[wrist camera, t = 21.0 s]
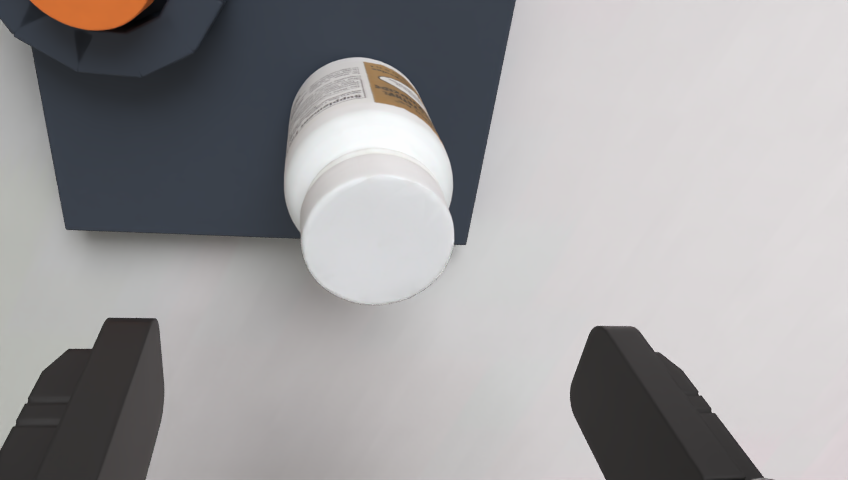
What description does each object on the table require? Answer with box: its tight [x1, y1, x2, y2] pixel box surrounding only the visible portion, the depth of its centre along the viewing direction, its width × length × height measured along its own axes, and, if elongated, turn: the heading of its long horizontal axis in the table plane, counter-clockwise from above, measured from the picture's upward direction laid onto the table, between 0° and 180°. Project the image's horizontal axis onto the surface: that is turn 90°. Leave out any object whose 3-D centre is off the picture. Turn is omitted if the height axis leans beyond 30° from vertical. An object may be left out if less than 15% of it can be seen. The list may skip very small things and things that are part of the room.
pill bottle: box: [284, 57, 454, 305], centre depth 16 cm, size 4×4×8 cm
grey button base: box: [0, 0, 516, 245], centre depth 18 cm, size 15×12×3 cm
